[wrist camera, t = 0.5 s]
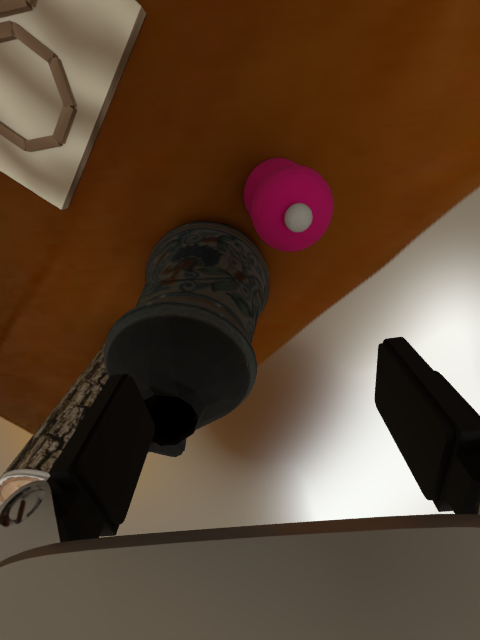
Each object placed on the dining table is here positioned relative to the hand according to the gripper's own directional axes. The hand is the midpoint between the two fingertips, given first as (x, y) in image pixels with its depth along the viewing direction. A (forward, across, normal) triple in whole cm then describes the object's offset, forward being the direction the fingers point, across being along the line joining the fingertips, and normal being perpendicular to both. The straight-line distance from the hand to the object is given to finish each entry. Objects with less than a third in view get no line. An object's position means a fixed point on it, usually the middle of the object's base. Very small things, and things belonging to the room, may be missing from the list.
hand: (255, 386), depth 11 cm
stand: (+30, +20, -21) cm, 42 cm away
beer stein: (+30, +6, +7) cm, 32 cm away
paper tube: (+30, +21, +14) cm, 39 cm away
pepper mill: (+30, -4, -4) cm, 31 cm away
